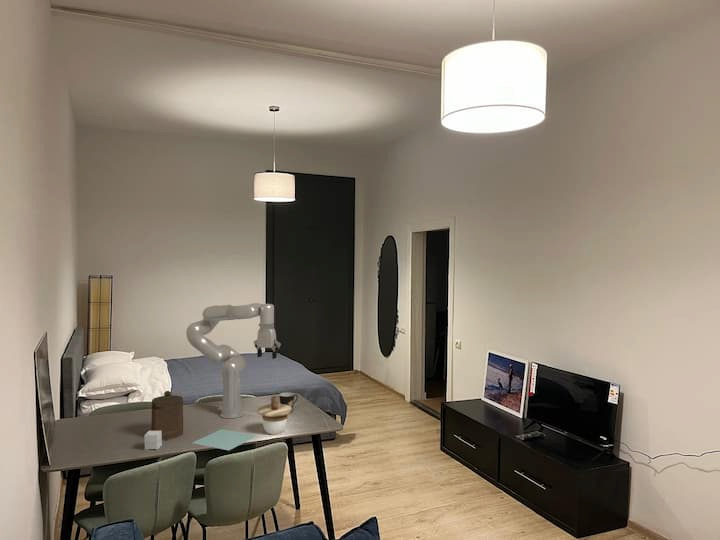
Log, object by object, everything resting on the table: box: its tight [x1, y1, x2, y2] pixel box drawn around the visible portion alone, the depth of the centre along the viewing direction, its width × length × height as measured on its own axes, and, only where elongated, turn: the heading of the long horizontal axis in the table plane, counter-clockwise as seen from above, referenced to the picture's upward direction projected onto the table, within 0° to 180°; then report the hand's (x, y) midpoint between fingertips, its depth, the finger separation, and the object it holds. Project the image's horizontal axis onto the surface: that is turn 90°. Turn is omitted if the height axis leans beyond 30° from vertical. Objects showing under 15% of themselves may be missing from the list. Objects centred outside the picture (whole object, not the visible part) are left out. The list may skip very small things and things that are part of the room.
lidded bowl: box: [261, 414, 289, 436], centre depth 269 cm, size 13×13×11 cm
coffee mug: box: [278, 391, 298, 414], centre depth 305 cm, size 12×9×10 cm
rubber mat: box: [191, 428, 258, 451], centre depth 258 cm, size 22×22×1 cm
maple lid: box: [257, 395, 293, 417], centre depth 268 cm, size 17×17×7 cm
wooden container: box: [151, 390, 184, 441], centre depth 264 cm, size 15×15×22 cm
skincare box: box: [143, 430, 163, 451], centre depth 247 cm, size 6×6×7 cm
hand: (267, 357), depth 293 cm, fingers open, 9 cm apart
